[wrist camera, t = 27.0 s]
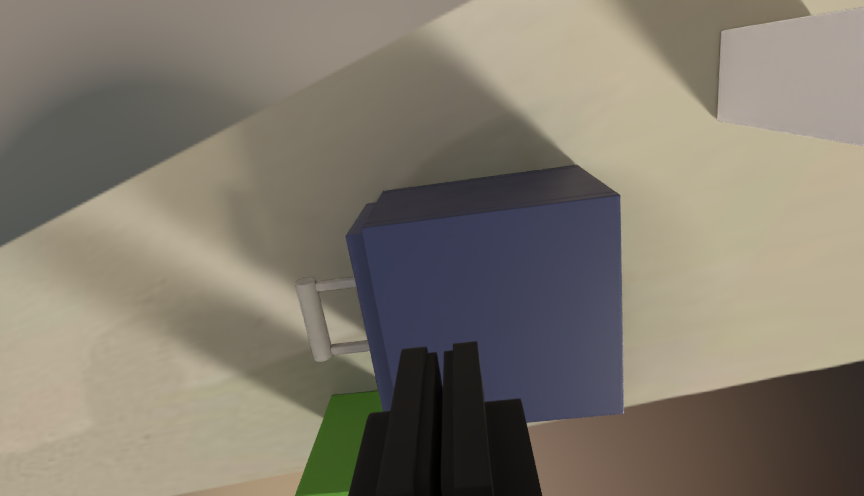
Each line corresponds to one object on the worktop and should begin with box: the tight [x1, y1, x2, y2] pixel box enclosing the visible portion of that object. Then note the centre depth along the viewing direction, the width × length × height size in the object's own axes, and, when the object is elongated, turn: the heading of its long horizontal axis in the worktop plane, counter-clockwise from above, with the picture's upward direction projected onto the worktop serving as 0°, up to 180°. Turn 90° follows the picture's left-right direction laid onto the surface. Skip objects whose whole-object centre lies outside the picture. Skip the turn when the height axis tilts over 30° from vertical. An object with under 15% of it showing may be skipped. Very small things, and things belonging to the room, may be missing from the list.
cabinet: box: [361, 165, 624, 423], centre depth 34 cm, size 15×15×10 cm
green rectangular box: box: [295, 391, 383, 496], centre depth 38 cm, size 4×6×11 cm, turn 98°
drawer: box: [295, 202, 394, 411], centre depth 34 cm, size 18×13×8 cm
